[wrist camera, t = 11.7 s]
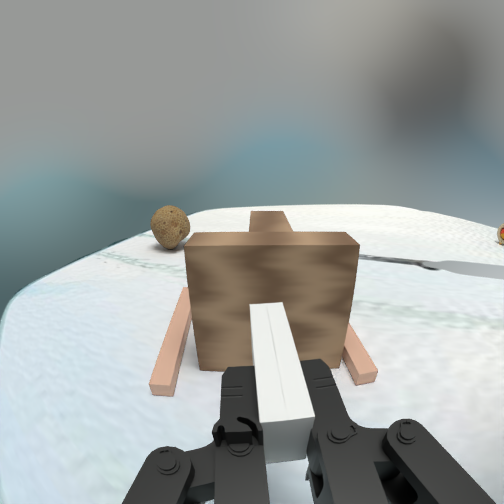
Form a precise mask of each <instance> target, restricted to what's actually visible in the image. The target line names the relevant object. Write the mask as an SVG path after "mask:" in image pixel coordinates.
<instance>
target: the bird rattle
mask: <svg viewBox="0 0 504 504" xmlns="http://www.w3.org/2000/svg"><path fill="white" fill-rule="evenodd" d="M497 235H498V239H499V243H500V244H504V224H502V225H501V226H500V227H499V228H498V232H497Z"/></svg>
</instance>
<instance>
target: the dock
mask: <svg viewBox="0 0 504 504" xmlns="http://www.w3.org/2000/svg"><path fill="white" fill-rule="evenodd" d="M191 319H192V314H191V307H190V299H189V291H188V287H183V289H182V292H181V295H180V297H179V300H178V303H177V305H176V308H175V311H174V313H173V316H172V319H171V321H170V324H169V327H168V330H167V332H166V335H165V338H164V341H163V344H162V347H161V349H160V352H159V355H158V358H157V361H156V364H155V367H154V370H153V373H152V376H151V379H150V382H149V386H150V389H151V391H152V394H153V395H161V396H173V395H174V391H175V386H176V382H177V377H178V373H179V368H180V364H181V360H182V356H183V351H184V347H185V343H186V339H187V335H188V331H189V327H190V323H191ZM342 357H343V359H344V361H345V363H346V365H347V367H348V369H349V371H350V374H351V376H352V378H353V380H354V382H355V384H356V385H360V384H366V383H370V382H374V381H375V378H376V376H377V373H378V370H377V368H376V366H375V365H374V363H373V361H372V360H371V358H370V356H369V355H368V353H367V351H366V350H365V348H364V346H363V345H362V343H361V341H360V340H359V338H358V337H357V335H356V333H355V332H354V330H353V328H352V327H351V325H350V324H349V323H348V328H347V334H346V339H345V343H344V348H343V353H342Z"/></svg>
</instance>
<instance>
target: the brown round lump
mask: <svg viewBox="0 0 504 504" xmlns="http://www.w3.org/2000/svg"><path fill="white" fill-rule="evenodd" d="M151 229H152V232H153V234H154V236H155V238H156V240H157V241H158V242H159V243H160V244H161V245H162V246H163V247H165V248H167V249H173V248H175V247H176V246H177V245H178V243H179V242H180V241H181V240H183V239H184V238H185V237H186V236H187V235H188V234H189V232H190V223H189V220H188V218H187V216H186V214H185V213H184V212H183V211H182V210H181V209H179V208H177V207H175V206H169V205H168V206H165V207H163V208H161V209H159V210H157V211H156V212H155V214H154V215H153V217H152V219H151Z"/></svg>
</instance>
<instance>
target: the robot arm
mask: <svg viewBox="0 0 504 504" xmlns="http://www.w3.org/2000/svg"><path fill="white" fill-rule="evenodd" d="M250 321H251V341H252V357H253V366H236V367H227V369H226V370H225V372H224V374H223V375H222V383H221V404H220V419H219V420H218V421H217V422H216V423H215V424H214V427H213V430H212V435H213V438H214V441H213V442H212V443H210V444H209V445H207V446H205V447H202V448H199V449H195V450H191V451H186V452H184V451H183V450H181V449H178V448H176V447H169V446H166V447H160V448H157V449H156V450H154V451H152V452H151V453H150V454H149V455H148V457H147V458H146V460H145V462H144V464H143V465H142V467H141V469H140V471H139V473H138V475H137V477H136V478H135V480H134V482H133V484H132V486H131V488H130V489H129V491H128V493H127V495H126V497H125V499H124V501H123V502H122V504H205V501H209V500H213V499H214V504H270V502H269V493H268V483H267V474H266V464H265V463H277V462H286V461H294V460H302V459H306V455H307V457H308V461H309V466H308V469H307V473H306V479H305V481H306V480H309V481H310V486H311V491H312V496H313V501H314V504H496V503H495V502H494V501H493V500H492V499H491V498H490V497H489V495H488V494H487V493H486V492H485V491H484V490H483V489H482V488H481V487H480V486H479V485H478V484H477V483H476V482H475V481H474V479H473V478H472V477H471V476H470V475H469V474H468V473H467V472H466V471H465V470H464V469H463V468H462V467H461V466H460V465H459V464H458V463H457V461H456V460H455V459H454V458H453V457H452V456H451V455H450V454H449V453H448V452H447V451H446V450H445V449H444V448H443V447H442V446H441V445H440V443H439V442H438V441H437V440H436V439H435V438H434V437H433V436H432V435H431V434H430V433H429V432H428V431H427V430H426V429H425V428H424V427H423V426H422V425H421V424H420V423H419V422H417V421H415V420H412V419H401V420H398V421H395V422H394V423H393V424H392V425H391V426H390V427H389V428H365V427H362V426H359V425H357V424H356V423H355V422H353V421H352V420H351V419H350V417H349V416H348V414H347V411H346V408H345V406H344V403H343V401H342V398H341V396H340V393H339V390H338V388H337V386H336V383H335V380H334V378H333V375H332V373H331V370H330V368H329V366H328V365H327V364H326V363H325V362H324V361H323V360H321V359H312V360H303V361H299V357H298V354H297V351H296V347H295V344H294V340H293V337H292V333H291V330H290V326H289V323H288V320H287V316H286V313H285V309H284V306H283V303H282V302H279V303H264V304H250Z"/></svg>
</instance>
